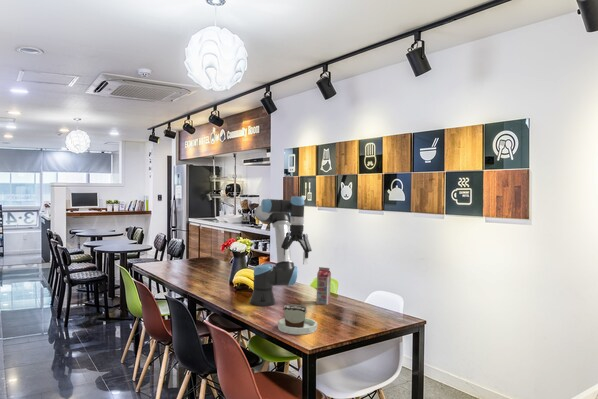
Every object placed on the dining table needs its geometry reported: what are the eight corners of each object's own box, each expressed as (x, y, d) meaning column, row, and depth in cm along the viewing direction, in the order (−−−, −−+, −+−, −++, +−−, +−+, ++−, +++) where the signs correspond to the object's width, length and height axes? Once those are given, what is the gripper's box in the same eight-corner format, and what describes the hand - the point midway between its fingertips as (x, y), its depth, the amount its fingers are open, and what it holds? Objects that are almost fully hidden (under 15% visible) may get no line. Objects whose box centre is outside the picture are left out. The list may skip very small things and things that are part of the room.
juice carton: (319, 301, 271) (320, 266, 270) (329, 302, 268) (331, 267, 268) (316, 303, 264) (317, 267, 264) (326, 304, 262) (327, 268, 262)
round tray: (270, 328, 212) (270, 322, 212) (295, 320, 226) (295, 315, 226) (299, 337, 199) (299, 330, 199) (324, 328, 214) (324, 322, 214)
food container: (309, 325, 214) (310, 305, 214) (306, 329, 208) (306, 308, 208) (286, 323, 218) (287, 303, 218) (282, 326, 212) (282, 306, 212)
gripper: (275, 223, 243) (274, 260, 243) (310, 226, 227) (308, 266, 227) (284, 222, 249) (283, 259, 249) (318, 225, 233) (317, 264, 233)
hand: (295, 262), depth 238 cm, fingers open, 13 cm apart
